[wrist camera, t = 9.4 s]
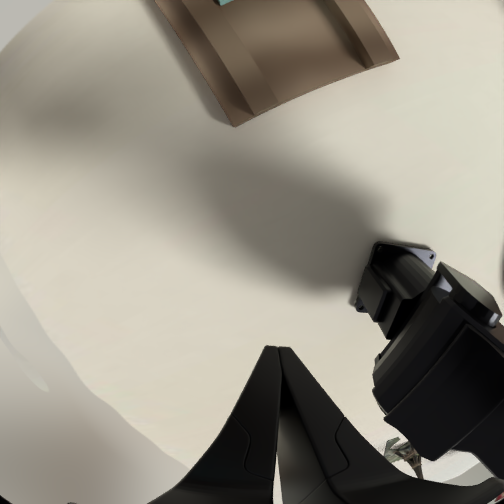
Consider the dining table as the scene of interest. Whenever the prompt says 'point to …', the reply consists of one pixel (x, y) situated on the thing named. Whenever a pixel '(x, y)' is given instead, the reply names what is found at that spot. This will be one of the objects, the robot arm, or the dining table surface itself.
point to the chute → (276, 47)
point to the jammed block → (223, 1)
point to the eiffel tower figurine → (404, 455)
